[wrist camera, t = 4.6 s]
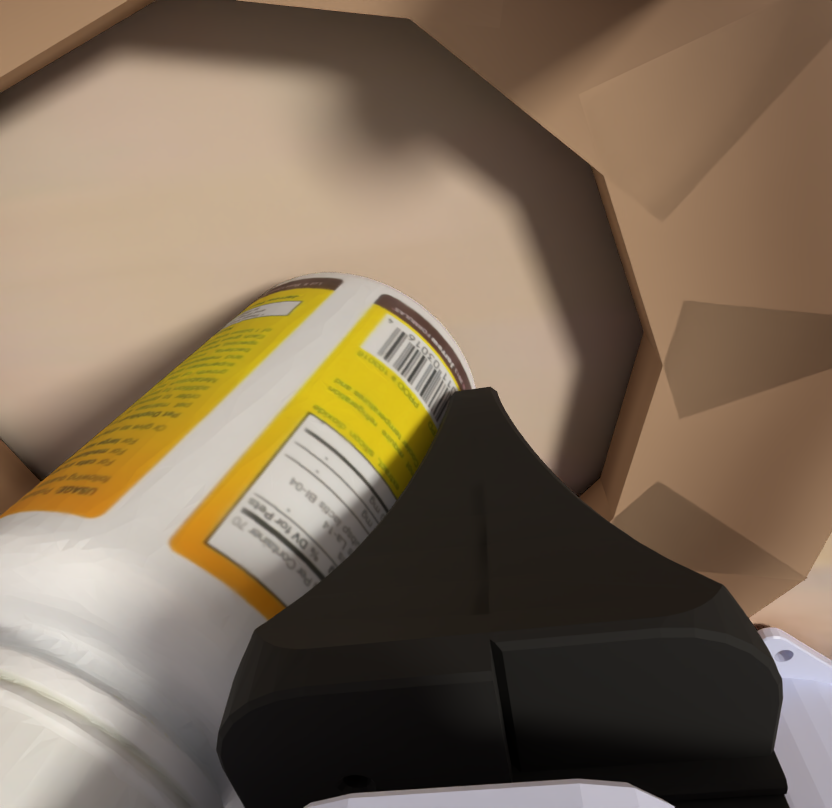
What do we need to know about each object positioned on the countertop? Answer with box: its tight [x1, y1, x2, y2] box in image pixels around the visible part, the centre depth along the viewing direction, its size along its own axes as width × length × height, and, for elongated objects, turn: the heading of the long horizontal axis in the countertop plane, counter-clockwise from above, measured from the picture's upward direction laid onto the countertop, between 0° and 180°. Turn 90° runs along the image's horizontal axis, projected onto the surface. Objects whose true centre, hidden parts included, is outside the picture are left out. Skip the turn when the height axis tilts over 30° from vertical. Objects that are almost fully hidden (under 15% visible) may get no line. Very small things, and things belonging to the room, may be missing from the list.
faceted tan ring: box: [0, 0, 832, 618], centre depth 13 cm, size 25×25×6 cm
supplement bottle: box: [0, 272, 476, 808], centre depth 11 cm, size 6×6×10 cm
